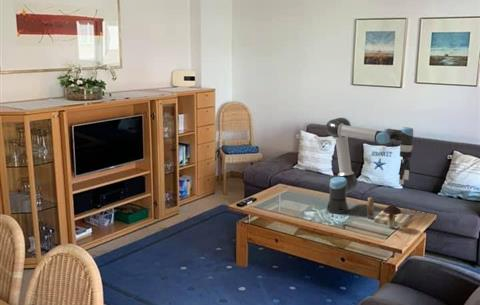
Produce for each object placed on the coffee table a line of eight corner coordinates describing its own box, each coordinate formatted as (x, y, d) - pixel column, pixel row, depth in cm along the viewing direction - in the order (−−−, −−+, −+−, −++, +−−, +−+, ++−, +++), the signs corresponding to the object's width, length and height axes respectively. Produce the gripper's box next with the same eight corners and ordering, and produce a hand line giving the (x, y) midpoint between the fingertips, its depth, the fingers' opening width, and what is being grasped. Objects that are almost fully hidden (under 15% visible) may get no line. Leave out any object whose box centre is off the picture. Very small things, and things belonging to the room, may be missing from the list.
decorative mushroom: (380, 225, 321) (381, 203, 318) (396, 224, 322) (397, 202, 319) (386, 231, 311) (387, 208, 308) (403, 230, 312) (404, 207, 309)
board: (373, 222, 327) (374, 218, 327) (382, 214, 342) (382, 210, 341) (401, 227, 318) (401, 222, 317) (408, 219, 332) (409, 214, 332)
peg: (366, 218, 335) (366, 198, 332) (368, 216, 338) (368, 197, 336) (372, 219, 333) (372, 199, 330) (374, 217, 336) (374, 197, 333)
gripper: (407, 154, 315) (404, 187, 320) (416, 148, 336) (413, 178, 340) (395, 153, 319) (393, 185, 324) (404, 147, 340) (402, 176, 344)
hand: (403, 181), depth 332 cm, fingers open, 13 cm apart
